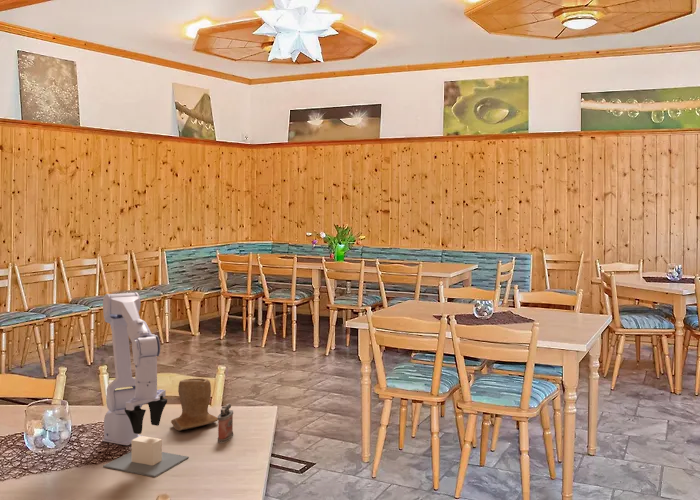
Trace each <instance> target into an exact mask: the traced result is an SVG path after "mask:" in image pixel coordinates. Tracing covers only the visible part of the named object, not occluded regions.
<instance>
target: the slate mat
mask: <svg viewBox="0 0 700 500" xmlns="http://www.w3.org/2000/svg"><path fill="white" fill-rule="evenodd" d="M189 458H190V457H189V456H187V455H183V454H182V455H181V454H176V453H170V452H165V451H162V461H160V462H158V463H157V464H155V465H147V464H142V463H136V462H132V451H130V452H127V453H126V454H123V455H122V456H120V457H118V458H115V459H113V460H112V461H109V462H108V463H105V464H104V465H103V468H106V469H110V470H116V471H121V472H127V473H131V474H137V475H141V476H148V477H152V478H156V477H158V476H160V475H162V474H164V473H165V472H167V471H168V470H169V471H170V470H171V469H172V468H174V467H176V466H177V465H179V464H181V463H182V462H185V461H186V460H188V459H189Z"/></svg>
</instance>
